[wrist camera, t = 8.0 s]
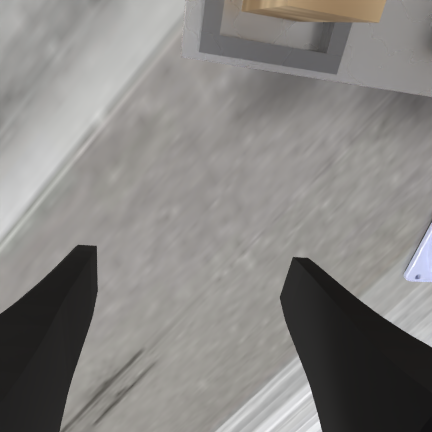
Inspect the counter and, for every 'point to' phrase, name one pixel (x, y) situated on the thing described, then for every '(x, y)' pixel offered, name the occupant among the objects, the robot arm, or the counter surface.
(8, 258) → the counter surface
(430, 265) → the robot arm
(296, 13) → the block
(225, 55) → the rail
